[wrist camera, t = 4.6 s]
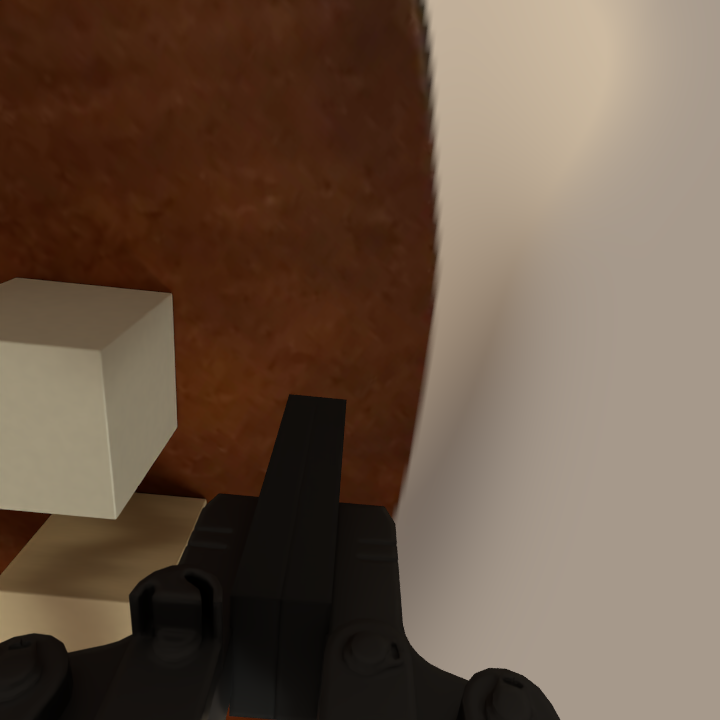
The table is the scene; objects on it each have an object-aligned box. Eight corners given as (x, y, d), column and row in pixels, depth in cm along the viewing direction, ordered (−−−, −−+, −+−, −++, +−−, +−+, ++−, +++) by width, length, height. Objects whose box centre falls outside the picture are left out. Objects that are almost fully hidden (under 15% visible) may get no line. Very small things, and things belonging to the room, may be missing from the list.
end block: (206, 498, 20) (158, 605, 16) (208, 596, 22) (165, 716, 18) (74, 486, 20) (-14, 589, 16) (87, 585, 22) (13, 703, 17)
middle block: (172, 292, 17) (100, 350, 13) (177, 427, 19) (116, 520, 14) (16, 276, 17) (-117, 329, 12) (37, 413, 19) (-70, 503, 14)
